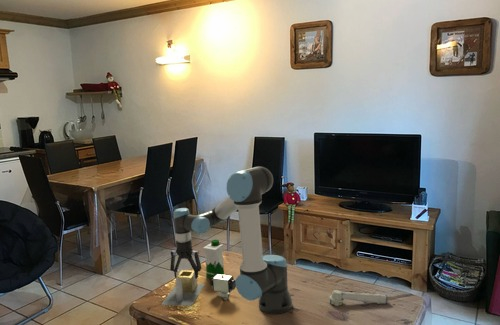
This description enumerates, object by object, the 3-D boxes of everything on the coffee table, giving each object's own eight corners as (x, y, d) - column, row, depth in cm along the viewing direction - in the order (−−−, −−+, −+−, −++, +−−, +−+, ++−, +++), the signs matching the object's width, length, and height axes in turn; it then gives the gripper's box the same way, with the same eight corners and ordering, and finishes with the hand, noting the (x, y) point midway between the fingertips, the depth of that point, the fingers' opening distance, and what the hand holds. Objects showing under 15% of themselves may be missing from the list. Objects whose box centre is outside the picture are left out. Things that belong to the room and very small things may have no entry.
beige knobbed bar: (388, 297, 177) (331, 291, 178) (386, 311, 178) (329, 305, 179) (385, 292, 182) (329, 286, 183) (383, 305, 183) (328, 299, 184)
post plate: (205, 286, 204) (203, 264, 203) (192, 308, 183) (190, 284, 181) (177, 285, 207) (175, 263, 205) (161, 307, 186) (158, 283, 184)
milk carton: (226, 276, 215) (224, 240, 212) (217, 283, 208) (214, 246, 205) (213, 273, 220) (210, 238, 217) (203, 280, 212) (200, 244, 209)
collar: (197, 285, 203) (196, 270, 202) (192, 293, 195) (191, 277, 194) (182, 285, 204) (181, 270, 203) (177, 292, 196) (175, 277, 195)
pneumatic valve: (233, 302, 187) (231, 278, 185) (210, 299, 191) (209, 275, 189) (238, 297, 192) (236, 273, 190) (216, 293, 196) (214, 270, 194)
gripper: (206, 237, 198) (209, 281, 201) (166, 237, 201) (169, 279, 205) (201, 242, 190) (205, 288, 194) (160, 242, 194) (164, 286, 197)
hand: (187, 283), depth 199 cm, fingers closed on collar, 8 cm apart
